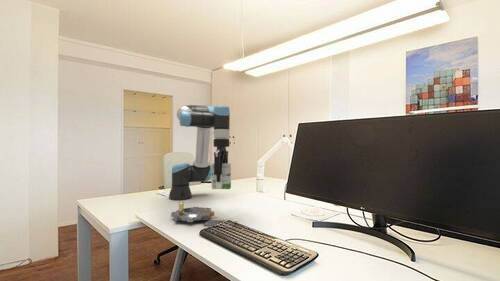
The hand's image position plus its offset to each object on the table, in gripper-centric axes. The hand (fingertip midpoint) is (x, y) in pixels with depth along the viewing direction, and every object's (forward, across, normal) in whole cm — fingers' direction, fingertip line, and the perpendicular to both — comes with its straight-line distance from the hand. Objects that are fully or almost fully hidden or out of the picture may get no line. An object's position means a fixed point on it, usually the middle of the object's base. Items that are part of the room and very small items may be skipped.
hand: (221, 187), depth 120 cm
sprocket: (+15, -4, -16) cm, 23 cm away
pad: (+17, 0, 0) cm, 17 cm away
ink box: (0, 0, 0) cm, 0 cm away
